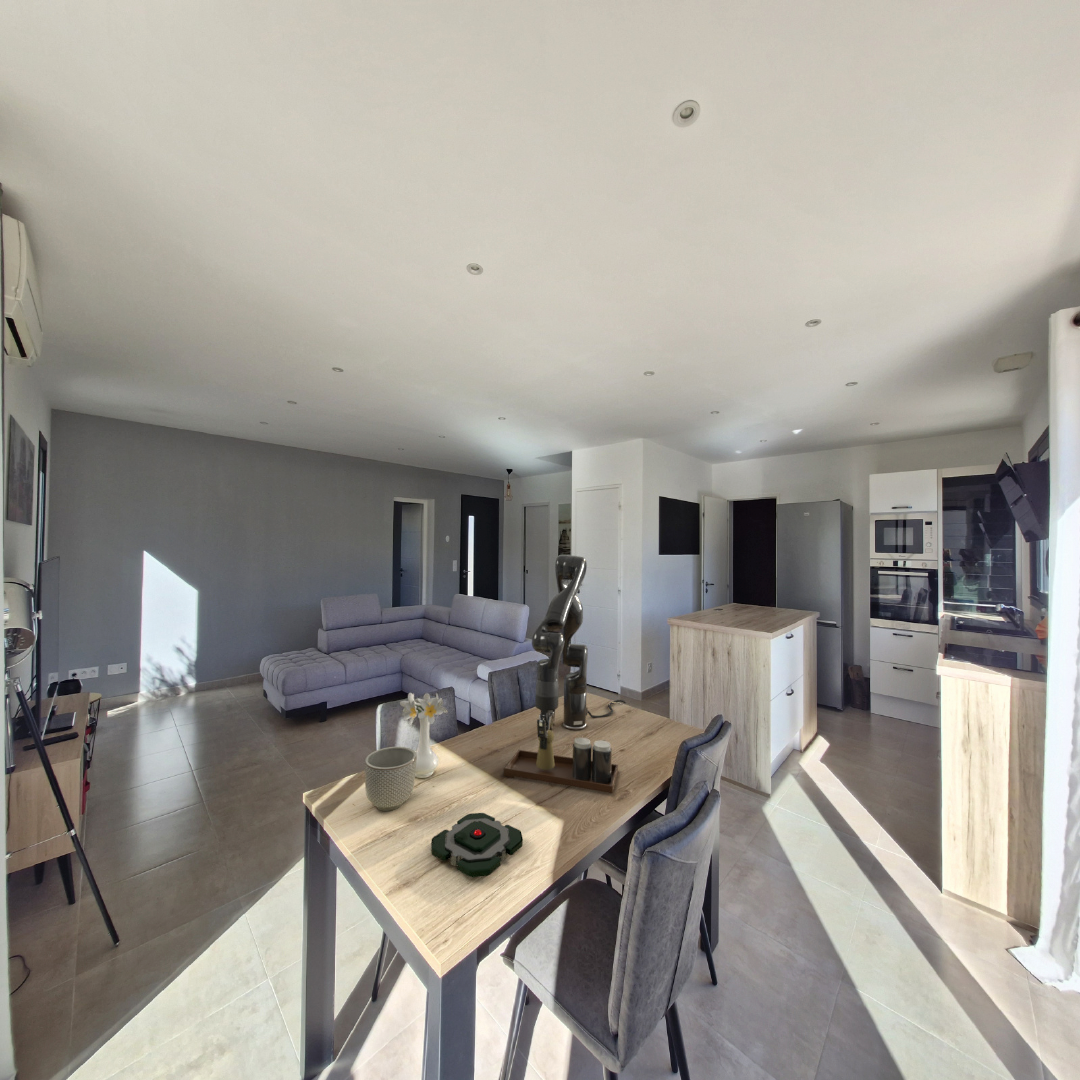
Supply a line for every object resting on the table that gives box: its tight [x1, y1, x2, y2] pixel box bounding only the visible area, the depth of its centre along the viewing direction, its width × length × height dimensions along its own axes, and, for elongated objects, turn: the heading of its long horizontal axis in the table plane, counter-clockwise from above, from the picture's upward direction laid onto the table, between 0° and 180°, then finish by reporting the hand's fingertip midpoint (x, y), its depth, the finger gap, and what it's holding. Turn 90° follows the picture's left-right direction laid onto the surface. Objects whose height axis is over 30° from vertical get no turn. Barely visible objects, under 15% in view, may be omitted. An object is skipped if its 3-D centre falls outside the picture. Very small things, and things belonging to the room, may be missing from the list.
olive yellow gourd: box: [536, 730, 555, 769], centre depth 147 cm, size 6×6×11 cm
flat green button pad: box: [430, 812, 524, 878], centre depth 107 cm, size 18×18×5 cm
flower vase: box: [399, 692, 449, 779], centre depth 144 cm, size 13×18×25 cm
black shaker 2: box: [592, 739, 613, 784], centre depth 141 cm, size 6×6×11 cm
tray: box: [503, 749, 619, 794], centre depth 145 cm, size 14×34×2 cm, turn 74°
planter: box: [363, 746, 417, 812], centre depth 126 cm, size 14×14×13 cm
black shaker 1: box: [572, 737, 593, 781], centre depth 143 cm, size 6×6×11 cm
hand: (545, 744), depth 147 cm, fingers closed on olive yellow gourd, 5 cm apart
